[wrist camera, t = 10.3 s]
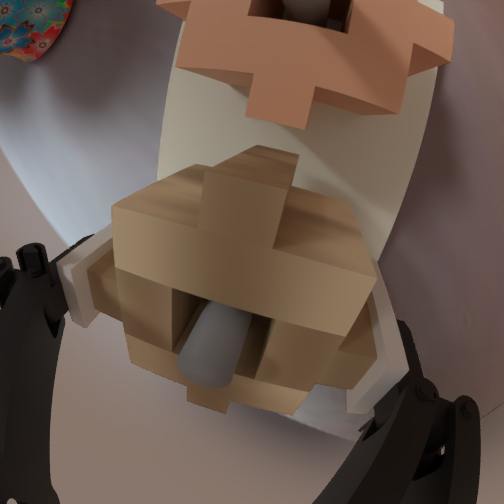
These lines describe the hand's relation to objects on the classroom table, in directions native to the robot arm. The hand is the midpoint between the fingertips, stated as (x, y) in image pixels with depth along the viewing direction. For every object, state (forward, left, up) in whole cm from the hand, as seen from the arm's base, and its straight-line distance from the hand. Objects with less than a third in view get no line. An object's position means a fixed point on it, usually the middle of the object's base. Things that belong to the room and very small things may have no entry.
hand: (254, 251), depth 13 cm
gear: (0, 0, 0) cm, 0 cm away
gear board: (0, +6, -4) cm, 7 cm away
